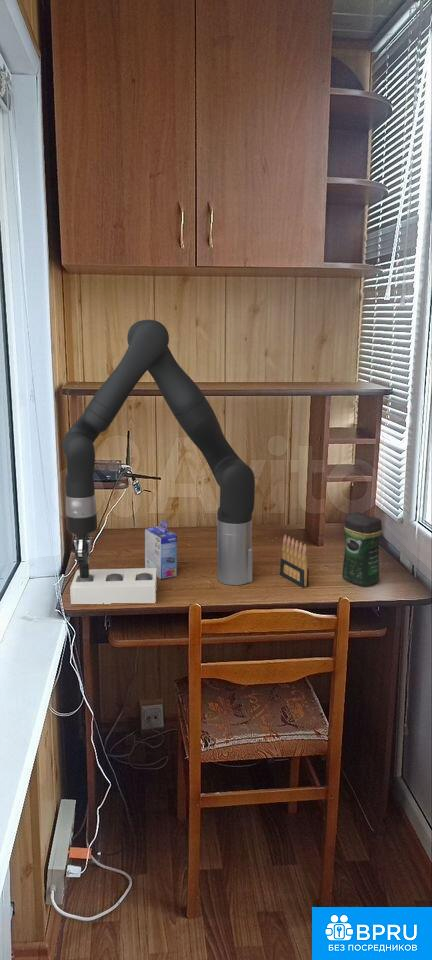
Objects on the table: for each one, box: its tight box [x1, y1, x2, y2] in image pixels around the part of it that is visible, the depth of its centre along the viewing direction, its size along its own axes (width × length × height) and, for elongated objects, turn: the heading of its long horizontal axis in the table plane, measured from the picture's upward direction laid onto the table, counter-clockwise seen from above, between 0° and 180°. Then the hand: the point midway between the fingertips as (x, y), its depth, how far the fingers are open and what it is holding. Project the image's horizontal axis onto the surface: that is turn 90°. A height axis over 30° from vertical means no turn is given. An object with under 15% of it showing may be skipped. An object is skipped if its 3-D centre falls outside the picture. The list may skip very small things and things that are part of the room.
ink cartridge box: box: [144, 520, 178, 580], centre depth 195 cm, size 10×6×14 cm, turn 33°
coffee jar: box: [342, 511, 383, 587], centre depth 189 cm, size 10×8×19 cm
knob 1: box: [78, 574, 93, 582], centre depth 181 cm, size 4×4×4 cm
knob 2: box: [137, 573, 151, 580], centre depth 182 cm, size 4×4×4 cm
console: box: [69, 567, 158, 605], centre depth 181 cm, size 21×12×5 cm, turn 93°
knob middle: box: [108, 574, 122, 581], centre depth 181 cm, size 4×4×4 cm
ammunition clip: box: [279, 533, 310, 589], centre depth 190 cm, size 11×2×12 cm, turn 30°
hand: (84, 576), depth 180 cm, fingers closed
